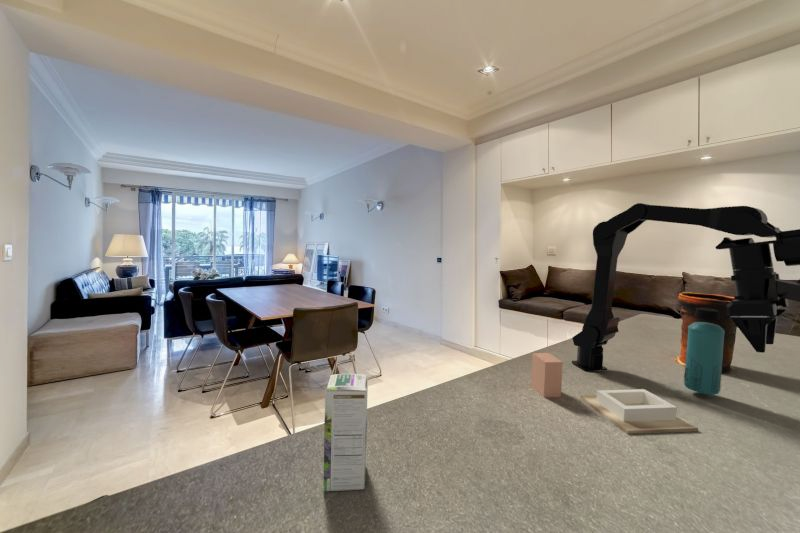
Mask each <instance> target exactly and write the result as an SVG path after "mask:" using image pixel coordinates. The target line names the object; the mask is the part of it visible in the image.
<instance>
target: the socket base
mask: <svg viewBox="0 0 800 533" xmlns="http://www.w3.org/2000/svg"><path fill="white" fill-rule="evenodd" d="M596 398H597V394H594V395H593V394H591V395H590V394H589V395H585V394H584V395H580V399H581V400H582V401H583V402H585V403H586V404H587V405H589V406H590V407H591V408H592V409H594V410H595V411H596V412H598V413H599V414H600V415H602V416H603V417H605V418H606V419H607V420H608V421H610V423H612V424H614V425H615V426H616V427H618V428H619V429H621V430H622V431H623V432H624V433H626V434H627V435H629V434H632V435H633V434H654V433H655V434H657V433H677V432H678V433H683V432H685V433H687V432H699V427H697V426H696V425H694V424H692V423H691V422H689V421H687V420H686V419H683V418H682V417H680V416H678V415H677V414H676V420H656V421H627V422H623V421H622V420H621V419H619V418H618V417H617V416H615V415H614V414H612V413H611V412H610V411H608V410H607V409H606V408H604V407H603V406H601V405H600V404H599V403H597V402H596ZM624 405H625V406H635V405H645V404H643V403H633V404H624Z"/></svg>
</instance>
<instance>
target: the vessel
mask: <svg viewBox="0 0 800 533" xmlns="http://www.w3.org/2000/svg"><path fill="white" fill-rule="evenodd" d="M733 300H735V299H734V296H728V295H723V294H715V293H714V294H710V293H702V292H701V293H700V292H683V291H682V292H681V293H679V294H678V296H677V301H678V303H679V304H680V306H681V307H682V309H681V310H680V312H679V314H680V317H681V320H682V323H681V326H680V328H681V334H680V335H681V338H680V340H679V341H680V355H679V356H675V357H674V361H675V362H677V363H678V364H680V365H682V366H685V365H686V362H685V361H686V357H685V356H686V351H687V346H686V345H687V341H688V326H689V325H691V324H692V323H694V322H706V323H712V324H716V325H719V326H720V327H721V328H722V329H723V330H724V331H725V333H724V344H723V360H722V361H723V362H722V364H723V365H722V367H723V368H722V372H721V374H737V371H738V369H737V368H736V367H733V366H731V364H732V363H733V362H732V361H733V357H734V349H735V345H736V344H735V342H736V338H737V335H736V334H737V328H738V327H737V325H736V324H735V323H734V322H733V320H731V319H730V317H731V316H727V312H726V305H727V304H729V303H730V302H731V301H733ZM697 308H707V309H714V310H718V311H719V320H706V319H700V318H696V317H695V313H696V309H697Z"/></svg>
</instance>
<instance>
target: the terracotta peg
mask: <svg viewBox="0 0 800 533" xmlns="http://www.w3.org/2000/svg"><path fill="white" fill-rule="evenodd" d="M531 359H532V361H531V378H530V379H531V380H530V381H531V382H530V387H532V388H533V389H534V390H535V391H536V392H537V393H538V394H539V395H540V396H542V397H543V398H561V397H562V384H563V383H562V380H563V365H564V364H563V363H564V362H563V361H562V360H560V359H558V358H557V357H556V356H554V355H553V354H551V353H550V352H538V353H537V352H534V353H532V358H531Z"/></svg>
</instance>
